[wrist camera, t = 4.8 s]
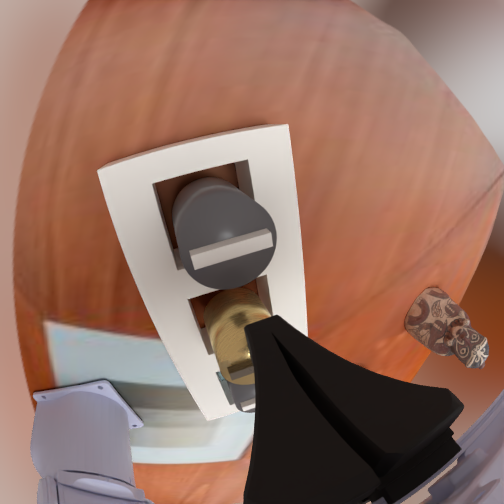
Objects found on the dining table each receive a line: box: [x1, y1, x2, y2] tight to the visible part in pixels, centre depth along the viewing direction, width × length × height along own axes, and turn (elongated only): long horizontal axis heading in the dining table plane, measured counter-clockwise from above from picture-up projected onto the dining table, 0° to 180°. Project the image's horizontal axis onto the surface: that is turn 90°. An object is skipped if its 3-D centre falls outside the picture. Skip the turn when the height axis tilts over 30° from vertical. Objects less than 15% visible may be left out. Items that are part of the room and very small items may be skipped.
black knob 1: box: [172, 177, 277, 290], centre depth 13 cm, size 4×4×5 cm
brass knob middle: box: [204, 288, 271, 385], centre depth 16 cm, size 4×4×5 cm
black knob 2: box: [226, 380, 255, 413], centre depth 21 cm, size 4×4×5 cm
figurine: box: [405, 287, 489, 369], centre depth 27 cm, size 7×7×12 cm
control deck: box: [97, 124, 308, 421], centre depth 19 cm, size 10×22×3 cm, turn 10°
